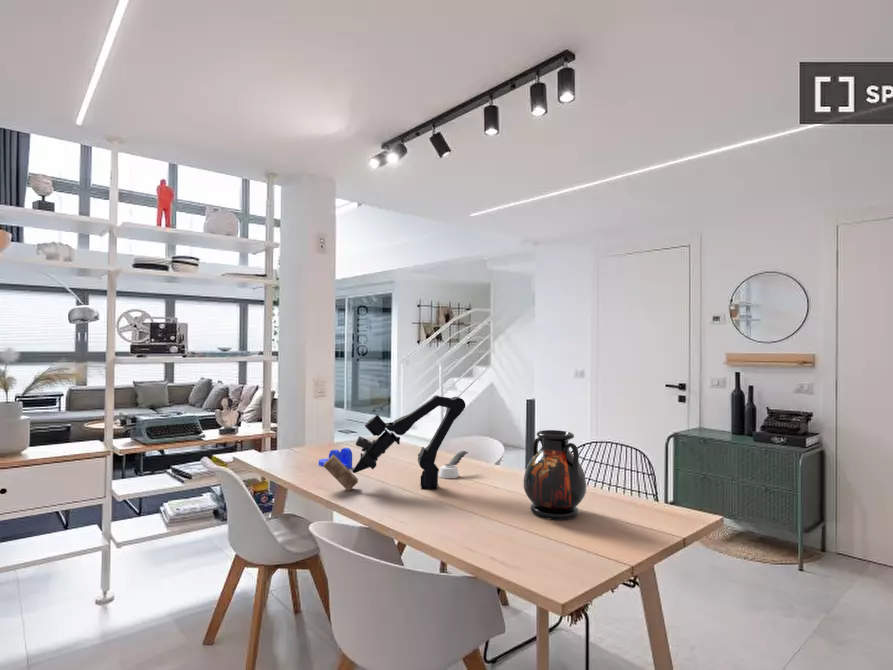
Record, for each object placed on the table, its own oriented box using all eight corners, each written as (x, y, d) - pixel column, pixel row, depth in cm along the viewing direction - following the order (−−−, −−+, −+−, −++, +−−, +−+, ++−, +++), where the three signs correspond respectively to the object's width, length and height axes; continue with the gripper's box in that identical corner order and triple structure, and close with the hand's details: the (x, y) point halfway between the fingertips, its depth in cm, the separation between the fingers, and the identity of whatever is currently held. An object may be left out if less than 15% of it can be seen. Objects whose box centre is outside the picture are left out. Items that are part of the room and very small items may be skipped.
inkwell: (434, 476, 230) (434, 453, 231) (459, 469, 244) (459, 448, 245) (450, 480, 225) (450, 456, 225) (474, 472, 238) (475, 450, 239)
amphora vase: (510, 511, 183) (511, 431, 184) (549, 500, 197) (550, 426, 197) (559, 528, 166) (561, 440, 167) (598, 515, 180) (599, 434, 181)
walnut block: (357, 479, 210) (333, 454, 208) (357, 482, 205) (333, 457, 203) (348, 488, 209) (324, 463, 208) (348, 491, 204) (323, 466, 203)
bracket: (352, 468, 243) (352, 448, 243) (337, 471, 237) (337, 451, 237) (329, 461, 256) (330, 443, 256) (315, 464, 249) (315, 445, 250)
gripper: (367, 426, 217) (339, 453, 215) (368, 433, 199) (338, 463, 197) (386, 445, 218) (358, 472, 216) (388, 454, 200) (358, 483, 198)
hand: (353, 472), depth 207 cm, fingers closed
